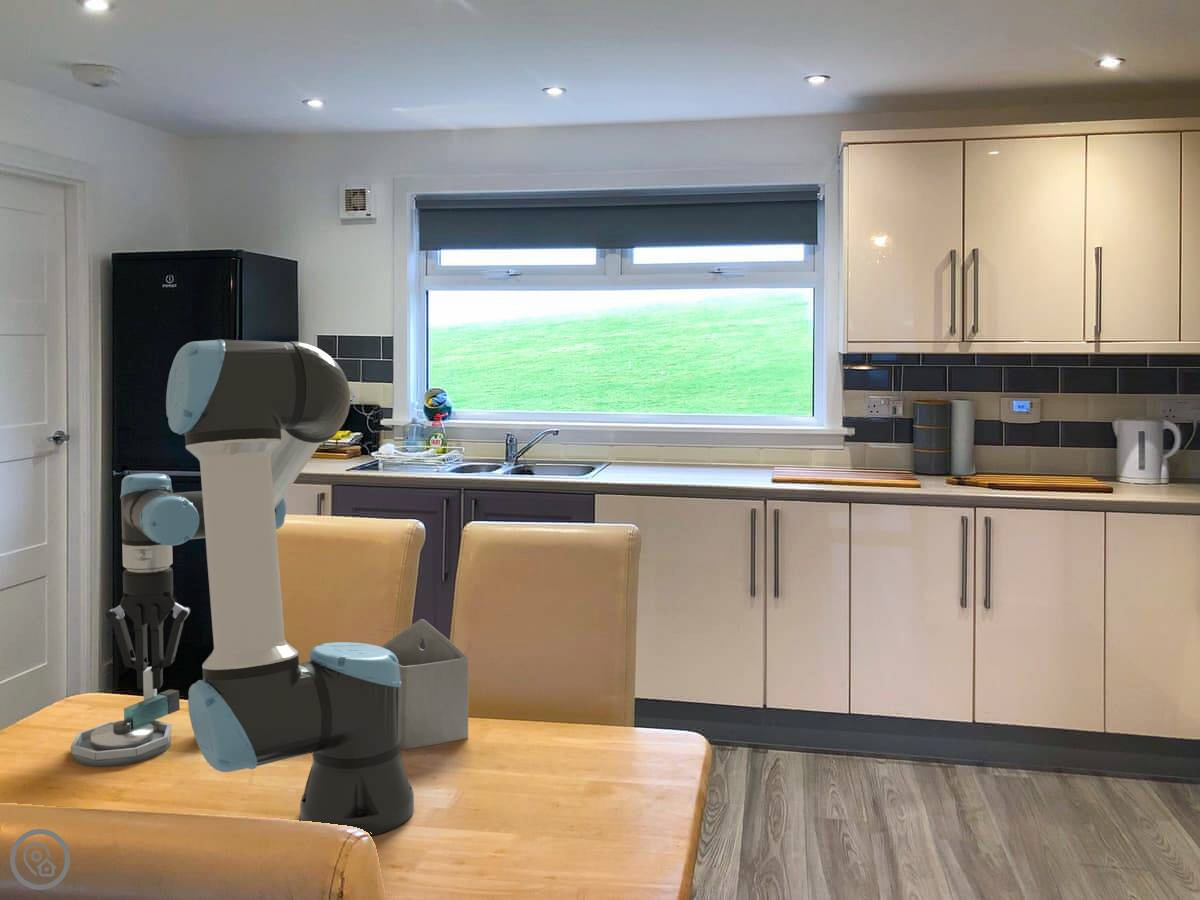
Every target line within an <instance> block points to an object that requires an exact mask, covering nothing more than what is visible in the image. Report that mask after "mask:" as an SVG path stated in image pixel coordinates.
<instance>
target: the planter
mask: <svg viewBox="0 0 1200 900" xmlns="http://www.w3.org/2000/svg"><path fill="white" fill-rule="evenodd" d="M422 640H423V644H424V646H425V647H424V649H422V648H421V646H420V644H421V643H422ZM380 647H383V648H385V649H388V650H390V651H391V652H392V653H394V654H395V656H396V657H397V659H398V662H399V671H400V681H401V687H400V750H402V751H403V750H411V749H418V748H424V747H428V746H434V745H439V744H440V745H441V744H446V743H450V742H451V741H452V742H457V741H461V739H462V740H466V739H465V738H467V739H468V738H469V660H468V656H467V655H466V654H465V653H464V652H463V651H462V650H461V649H460V648H459V647H458V646H456V645H455V644H454V643H453V642H451V640H450V639H448V638H447V637H446V636H445V635H443V634H442V633H441V632H440V631H439V630H437V629H436V628H435V627H434V626H433V625H432V624H430V623H429V622H428V621H427V620H425V619H423V618H421V619H419V620H417V621H416V622H414V623H413V624H411V625H409V626H408V627H406V628H405V629H404V630H402V631H401V632H399V633H398V634H396V635H395V636H393V637H392V638H390V640H388V641H387V642H385V643H383V645H381V646H380ZM456 740H457V741H456Z"/></svg>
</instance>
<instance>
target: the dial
mask: <svg viewBox="0 0 1200 900" xmlns="http://www.w3.org/2000/svg"><path fill="white" fill-rule="evenodd" d="M180 705H181V704H180V690H178V689H177V690H176V689H171V688H170V689H167V690H164V691H161V692H160V693H158V694H157V695H156V696H154V697H151V698H149V699H146V700H144V699H143V700H141V701H139V702H136V703H134V704H131V705H129V706H126V707H123V719H124V720H123V719H122V720H117V721H118V722H115V723H114V724H110V725H106V726H103V727H100V728H98V729H96V730H95V731H93V732H92V733H91V746H92V747H93V748H95V749H98V750H105V751H106V750H117V749H127V748H134V747H137V746H140V745H143V744H145V743H147V742H149V741H150V740H152V739H153V736H154V732H153V725H152V724H150V723H149V722H152V721H154V720H156V721H157V720H158V719H161V718H163V717H165V716H168V715H172V714H174V713H176V712H178V711H180Z"/></svg>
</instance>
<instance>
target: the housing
mask: <svg viewBox="0 0 1200 900" xmlns="http://www.w3.org/2000/svg"><path fill="white" fill-rule="evenodd" d="M118 721H119V720H114V721H108V722H104V723H102V724H99V725H96V726H94V727H91V728H88V729H85V730H82V731H79V732H78V733H77V734H76V735H75V737H74V739H73V741H72V742H71V744H70V753H71V754H72V755H73V760H74V761H75V762H76V763H78V764H81V765H84V766H87V767H88V766H89V767H98V768H99V767H117V766H118V767H119V766H126V765H131V764H134V763H135V764H136V763H140V762H144V761H146V760H149V759H152V758H155V757H157V756H159V755H161V754H162V753H163V754H164V752H166V751H167V750H168V749H169V748H170V747H171V745H172V744H171V742H172V741H171V740H172V739H171V738H172V737H171V734H172V724H170V723H167V722H163V721H160V720H157V719H156V720H154V721H152V722H149V723H150V724H152V725H153V732H154V736H153V739H152V740H150V741H149V742H147V743H145V744H143V745H140V746H137V747H134V748H127V749H117V750H106V751H105V750H98V749H95V748H93V747H92V746H91V733H92V732H93V731H95V730H96V729H98V728H100V727H103V726H106V725H110V724H114V723H115V722H118Z"/></svg>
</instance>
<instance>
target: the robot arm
mask: <svg viewBox="0 0 1200 900" xmlns="http://www.w3.org/2000/svg"><path fill="white" fill-rule="evenodd" d="M171 364H172V365H171V368H170V370H169V374H168V380H167V387H166V395H165V397H166V399H165V409H166V411H165V412H166V417H167V419H168V420H167V422H168V426H169V428H170V430H171V431H172V432H173V433H175V434H178V435H179V436H180V435H181V436H183V435H184V440H185V441H184V442H185V450H186V451H188V452H189V453H191V454H192V455H193V456H194V457H195V458H197V460H198V461H199V467H200V468H199V469H200V479H201V482H200V483H201V490H199V491H198V490H197V491H196V490H195V491H185V492H182V491H181V492H174V490H173V487H172V480H171V477H170V476H169V475H167V474H165V473H152V472H151V473H134V474H129V475H126V476H124V477H123V478H122V480H121V488H120V489H121V490H120V495H119V499H120V500H121V501H120V502H121V504H120V505H121V507H120V508H121V530H122V531H121V532H122V533H121V539H122V545H121V547H122V553H121V554H122V567H124V568H125V569H124V570H123V572H122V593H123V595H122V598H121V599H120V602H119V605H117V606H116V607H114V608H111V609H109V611H107V612H106V614H105V616H106V619H107V620H108V621H109V623H110V624H111V626H112V627H113V628H112V629H113V630H114V635H115V637H116V641H117V646H118V648H119V652H120V655H121V657H122V661H123V665H124V667H125V668H127V669H128V668H131V669H134V670H135V671H136V683H137V684H136V687H137V689H138V690H143V701H144V700H146V699H149V698H151V697H154V696H156V695H158V689H159V690H160V688H161V687H162V686H163V683H164V680H163V679H164V678H163V677H164V676H163V675H164V673H163V672H164V671H163V670H164V668H167V667H170V666H171V665H172V664H173V662H174V661H175V658H176V657H177V656H176V654H177V651H178V646H179V643H180V639H181V635H182V631H183V628H184V623H185V620H186V619H187V617H188V616H189V615H190V614H191V608H190V607H189V606H183V605H181V604H179V603H178V602H177V598H176V596H175V594H174V571H173V568H172V567H171V565H173V564H174V563H173V558H174V557H173V546H179V545H182V544H184V543H186V542H188V541H189V540H197V539H205V547H206V548H205V549H206V560H207V561H206V562H207V573H208V575H207V576H208V585H209V586H208V588H209V599H210V600H209V601H210V602H209V603H210V613H211V614H210V615H211V628H212V637H213V638H212V642H213V650H212V652H211V653H210V654H209V655H208V657H206V659H205V660H204V662H203V663H202V665H201V667H202V669H201V670H202V679H199V680H197V681H196V682H195V683H192V684H191V685H190V686H189V689H188V693H187V694H188V699H187V706H188V714H189V715H188V716H189V719H190V724H191V728H192V731H193V735H194V738H195V740H196V744H197V745H198V748H199V750H200V752H201V755H202V756H203V757H204V759H205V761H206V763H208V765H209V766H210V767H211V768H213V769H214V770H216V771H217V772H220V773H231V772H236V771H240V770H247V769H249V770H254V769H256V768H257V767H259V766H264V765H268V764H272V763H275V762H280V761H285V760H289V759H292V758H296V757H299V756H304V755H309V754H312V764H311V767H310V771H309V773H308V776H307V780H306V783H305V787H304V792H303V794H302V796H301V800H300V804H299V807H300V808H299V812H300V814H299V817H300V818H299V821H301V820H302V821H312V822H321V823H330V824H338V825H347V826H353V827H357V828H360V829H363V830H364V831H366V832H368V833H369V834H370V836H374V835H378V834H383V833H385V831H386V832H388V831H391V830H393V829H395V827H396V828H397V827H400V826H401V825H402V824H404V823H406V822H407V821H408V820H410V818H411V816H412V815H413V813H414V809H415V800H414V799H415V795H414V793H415V792H414V790H413V787H412V785H411V783H410V781H409V779H408V774H407V772H406V767H405V766H404V762H403V759H402V754H401V748H400V687H401V681H400V671H399V662H398V659H397V657H396V656H395V654H394V653H392V652H391V651H390V650H388V649H385V648H383V647H381V646H378V645H375V644H370V643H361V642H350V641H346V642H345V641H340V642H339V641H336V642H328V643H327V642H325V643H321V644H318V645H316V646H314V647H312V649H311V651H310V654H309V660H310V661H309V660H308V661H306V662H299V661H300V659H299V658H300V657H299V651H298V650H297V649H295V648H294V647H293V646H292V645H291V644H289V643H288V642H287V641H286V637H285V628H284V626H285V625H284V624H285V623H284V615H283V614H284V613H283V601H282V600H283V599H282V587H281V575H280V574H281V573H280V561H279V551H278V550H279V549H278V547H279V546H278V536H277V530H279V529H280V528H281V527H282V526H283V525H284V522H285V517H286V514H287V503H286V500H285V495H286V493H287V492H288V491H289V489H290V488H291V487H292V485H293V484H294V482H296V479H297V478H298V476H299V475H300V474H301V473H302V470H304V468H305V467H306V466H307V464H308V463H309V461H310V460H311V458H312V457H313V455H314V454H315V453H316V450H317V449H318V448H319V447H320V445H321V444H323V443H326V442H329V441H330V440H331V439H333V438H334V437H335V436H336V435H337V434H338V432H339V431H340V429H341V428H342V427H343V425H344V424H345V421H346V419H347V417H348V415H349V411H350V407H351V390H350V387H349V386H350V385H349V381H348V380H347V377H346V375H345V373H344V371H343V369H342V368H341V367H340V365H339V364H338V363H337V361H335V359H334V358H332V356H331V355H329V354H328V353H327V352H326V351H323V350H322V349H321V348H319V347H316V346H314V345H313V344H312V345H311V344H310V343H309V344H308V343H305V342H300V341H265V340H264V341H263V340H241V339H238V340H237V339H222V338H221V339H220V338H219V339H215V340H214V339H213V340H212V339H210V340H199V341H198V340H197V341H190V342H187V343H185V344H184V345H183V346H182V347H181V348H180V349H179V350H178V351H177V353H176V355H175V357H174V359H173V362H172V363H171ZM172 611H173V613H172V618H174V620H173V623H172V626H171V630H170V633H169V638H168V643H167V646H166V649H165V654H164V623H165V621H164V620H165V619H166V618H167V617H168V615H169V614H170V613H171V612H172ZM125 615H127V616H128V617H129V619H130V620H131V621H132V622H133V631H134V639H135V643H134V644H135V647H134V646H133V643H132V639H131V636H130V633H129V629H128V626H127V623H126V619H125V617H126V616H125ZM148 625H149V626H150V638H151V639H150V640H151V666H148V665H149V664H150V662H149V661H148V660H149V657H148ZM134 648H135V651H134ZM390 829H391V830H390ZM387 830H388V831H387ZM370 832H371V833H372V834H373V835H372V834H371V833H370Z"/></svg>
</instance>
